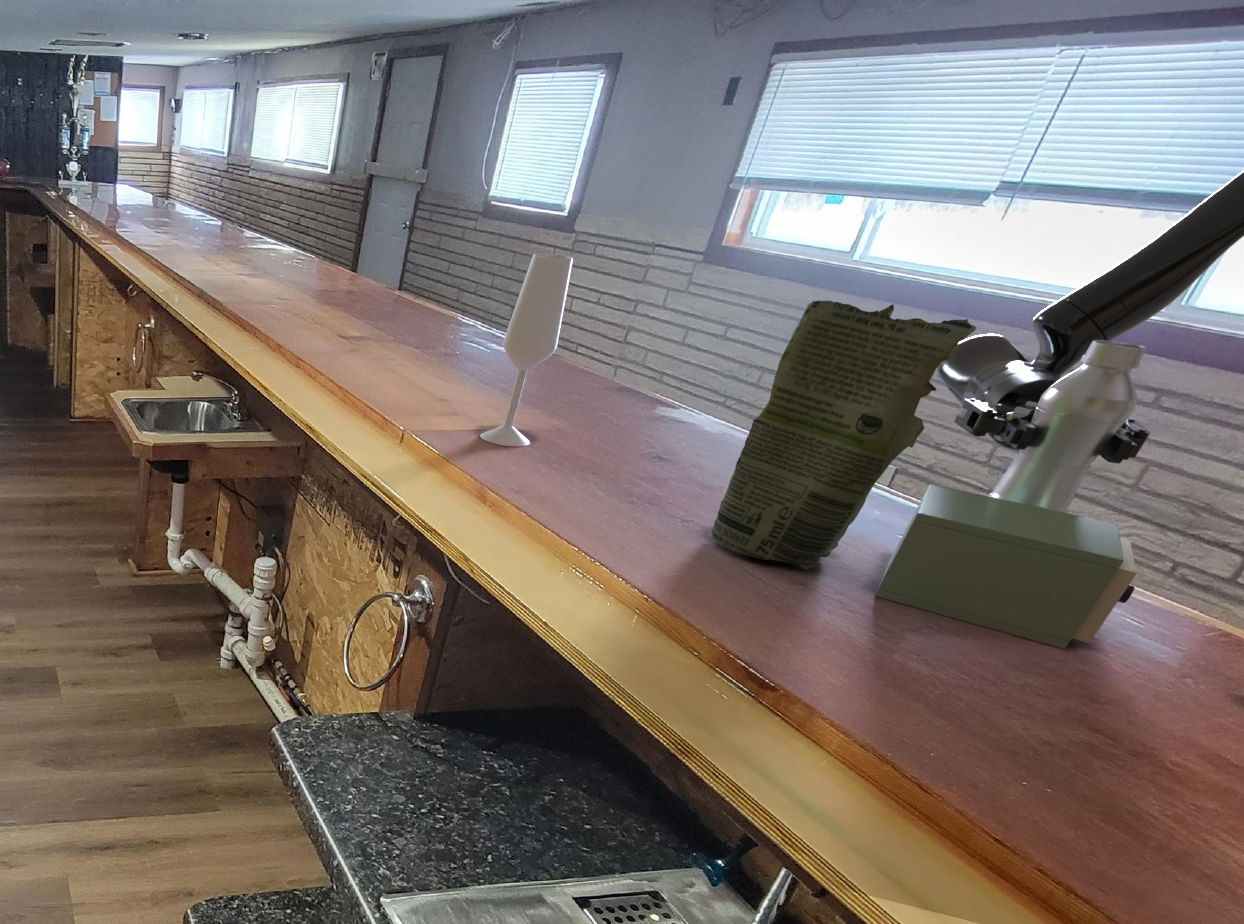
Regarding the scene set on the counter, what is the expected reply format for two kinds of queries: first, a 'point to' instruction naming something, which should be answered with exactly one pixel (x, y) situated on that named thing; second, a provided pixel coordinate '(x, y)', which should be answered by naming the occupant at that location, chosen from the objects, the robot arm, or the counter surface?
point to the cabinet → (1002, 564)
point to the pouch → (830, 429)
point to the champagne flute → (533, 331)
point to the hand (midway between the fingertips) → (1072, 445)
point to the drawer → (1110, 594)
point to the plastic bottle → (1073, 427)
